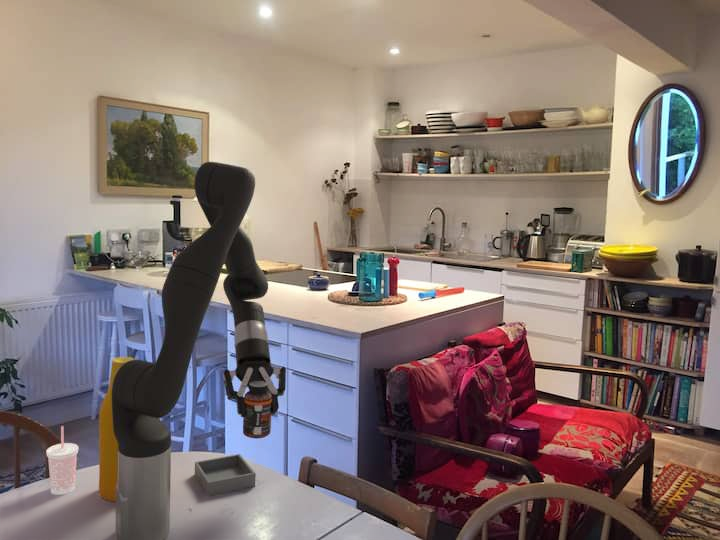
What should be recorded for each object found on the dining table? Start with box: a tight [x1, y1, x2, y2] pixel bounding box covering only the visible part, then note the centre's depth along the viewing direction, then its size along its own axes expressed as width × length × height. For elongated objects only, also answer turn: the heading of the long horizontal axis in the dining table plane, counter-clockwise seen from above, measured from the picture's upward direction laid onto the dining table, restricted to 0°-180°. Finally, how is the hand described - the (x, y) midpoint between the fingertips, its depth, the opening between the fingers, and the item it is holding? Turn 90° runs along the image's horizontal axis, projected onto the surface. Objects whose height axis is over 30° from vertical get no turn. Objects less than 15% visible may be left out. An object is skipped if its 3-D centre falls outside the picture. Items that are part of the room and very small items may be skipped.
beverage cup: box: [46, 425, 79, 495], centre depth 126 cm, size 6×6×14 cm
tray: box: [194, 453, 257, 497], centre depth 134 cm, size 11×11×3 cm
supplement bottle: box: [242, 381, 272, 439], centre depth 128 cm, size 6×6×11 cm
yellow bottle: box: [98, 356, 135, 502], centre depth 125 cm, size 9×9×29 cm
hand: (258, 414), depth 127 cm, fingers closed on supplement bottle, 6 cm apart
